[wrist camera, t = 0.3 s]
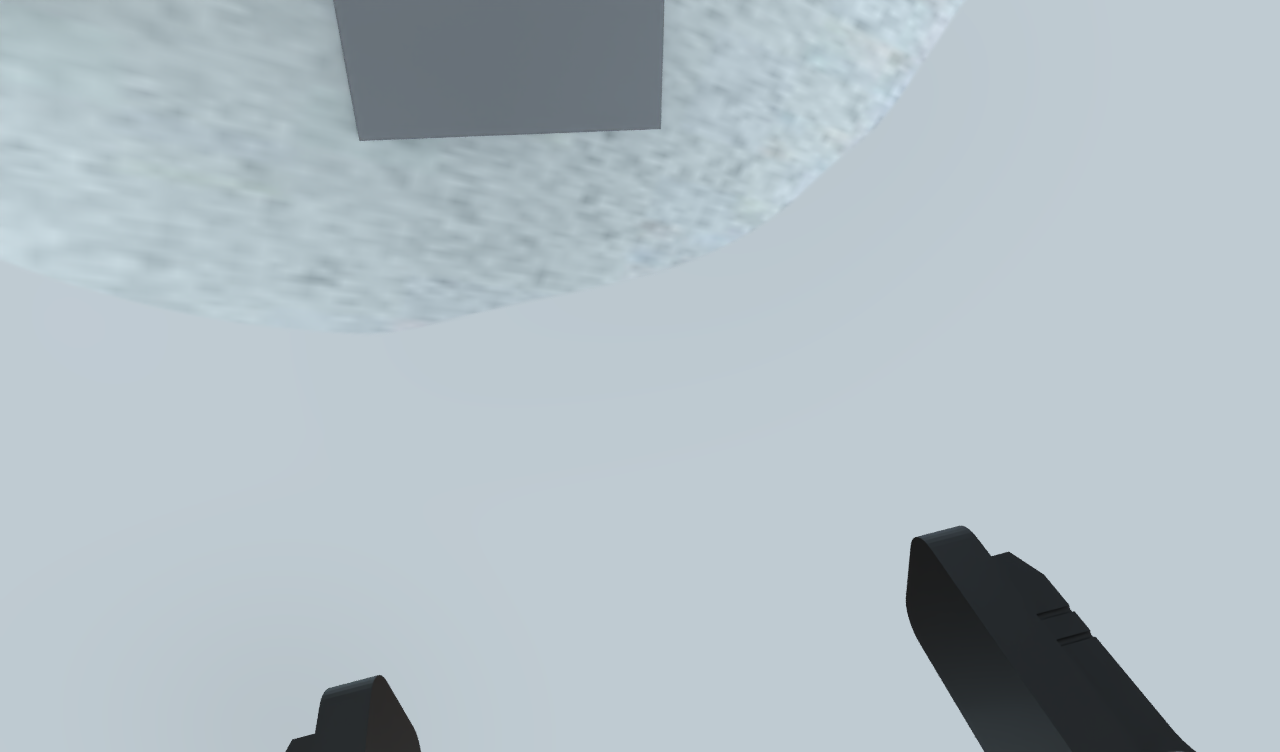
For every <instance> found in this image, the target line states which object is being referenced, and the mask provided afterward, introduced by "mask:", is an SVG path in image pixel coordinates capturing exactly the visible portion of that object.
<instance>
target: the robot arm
mask: <svg viewBox="0 0 1280 752" xmlns="http://www.w3.org/2000/svg"><path fill="white" fill-rule="evenodd" d="M906 607H907V613H908V617H909V620H910V623H911V626H912V628H913V631H914V633H915V636H916V637H917V639H918V641H919V643H920V645H921V646H922V648H923V650H924V651H925V653H926V655H927V656H928V658H929V660H930V661H931V663H932V664H933V666H934V668H935V670H936V672H937V673H938V675H939V677H940V678H941V679H942V681H943V683H944V685H945V687H946V688H947V690H948V691H949V693H950V695H951V697H952V698H953V700H954V702H955V703H956V705H957V707H958V708H959V710H960V712H961V713H962V715H963V717H964V718H965V720H966V722H967V723H968V725H969V727H970V728H971V730H972V732H973V733H974V735H975V737H976V738H977V740H978V742H979V743H980V745H981V747H982V749H983V750H984V752H1196V751H1194V750H1193V749H1192V748H1191V747H1190V746H1188V745H1187V744H1186V743H1185V742H1184V741H1183V740H1182V739H1181V738H1180V737H1179V736H1178V735H1177V734H1176V733H1175V732H1174V731H1173V729H1172V728H1171V727H1170V726H1169V725H1168V723H1166V721H1165V720H1164V719H1163V717H1162V716H1161V715H1160V714H1159V713H1158V711H1157V710H1156V709H1155V708H1154V707H1153V705H1152V704H1151V703H1150V702H1149V701H1148V699H1147V698H1146V697H1145V696H1144V694H1143V693H1142V692H1141V691H1140V690H1139V688H1138V687H1137V686H1136V685H1135V684H1134V682H1133V681H1132V680H1131V679H1130V678H1129V676H1128V675H1127V674H1126V673H1125V672H1124V670H1123V669H1122V668H1121V667H1120V666H1119V664H1118V663H1117V662H1116V661H1115V660H1114V658H1113V657H1112V656H1111V655H1110V654H1109V652H1108V651H1107V650H1106V649H1105V648H1104V646H1103V645H1102V644H1101V643H1100V642H1099V640H1098V639H1097V638H1096V637H1093V636H1092V635H1091V633H1090V630H1089V628H1088V627H1087V626H1086V625H1085V623H1084V622H1083V621H1082V620H1081V619H1080V617H1079V616H1078V615H1077V614H1076V613H1075V612H1072V611H1071V610H1070V608H1069V604H1068V603H1067V602H1066V601H1065V599H1064V598H1063V597H1062V596H1061V595H1060V593H1059V592H1058V591H1057V590H1056V589H1055V587H1054V586H1053V585H1052V584H1051V583H1050V581H1049V580H1048V579H1047V578H1046V577H1045V575H1044V574H1042V573H1040V572H1039V571H1038V570H1036V569H1034V568H1033V567H1032V566H1030V565H1028V564H1027V563H1025V562H1024V561H1022V560H1021V559H1019V558H1018V557H1016V556H1015V555H1013V554H1012V553H1010V552H1006V553H1002V554H998V555H995V556H990V554H989V553H988V551H987V550H986V549H985V548H984V546H983V545H982V544H981V542H980V541H979V540H978V539H977V537H976V536H975V535H974V534H973V533H972V532H971V531H970V530H969V529H968V528H966V527H964V526H957V527H953V528H949V529H945V530H941V531H937V532H934V533H930V534H926V535H922V536H919V537H915V538H914V539H913V540H912V542H911V548H910V559H909V571H908V580H907V591H906ZM286 752H421V750H420V745H419V740H418V737H417V734H416V732H415V729H414V727H413V726H412V724H411V722H410V720H409V719H408V717H407V715H406V714H405V712H404V710H403V708H402V707H401V705H400V703H399V701H398V700H397V698H396V696H395V695H394V693H393V691H392V689H391V688H390V686H389V684H388V683H387V681H386V679H385V678H384V677H383V676H381V675H378V676H374V677H370V678H366V679H363V680H359V681H355V682H351V683H347V684H343V685H339V686H336V687H332V688H328V689H327V690H326V691H325V692H324V694H323V696H322V698H321V702H320V707H319V713H318V719H317V725H316V731H315V734H312V735H308V736H304V737H301V738H297V739H293V740H292V741H291V743H290V745H289V746H288V749H287V750H286Z"/></svg>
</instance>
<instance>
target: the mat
mask: <svg viewBox="0 0 1280 752" xmlns="http://www.w3.org/2000/svg"><path fill="white" fill-rule="evenodd" d="M334 6H335V11H336V17H337V22H338V27H339V33H340V38H341V44H342V49H343V54H344V60H345V65H346V71H347V76H348V82H349V87H350V92H351V98H352V103H353V109H354V114H355V119H356V125H357V130H358V136H359V141H365V140H391V139H416V138H442V137H467V136H493V135H518V134H543V133H569V132H594V131H620V130H645V129H661V98H662V63H663V27H664V0H334Z"/></svg>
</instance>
